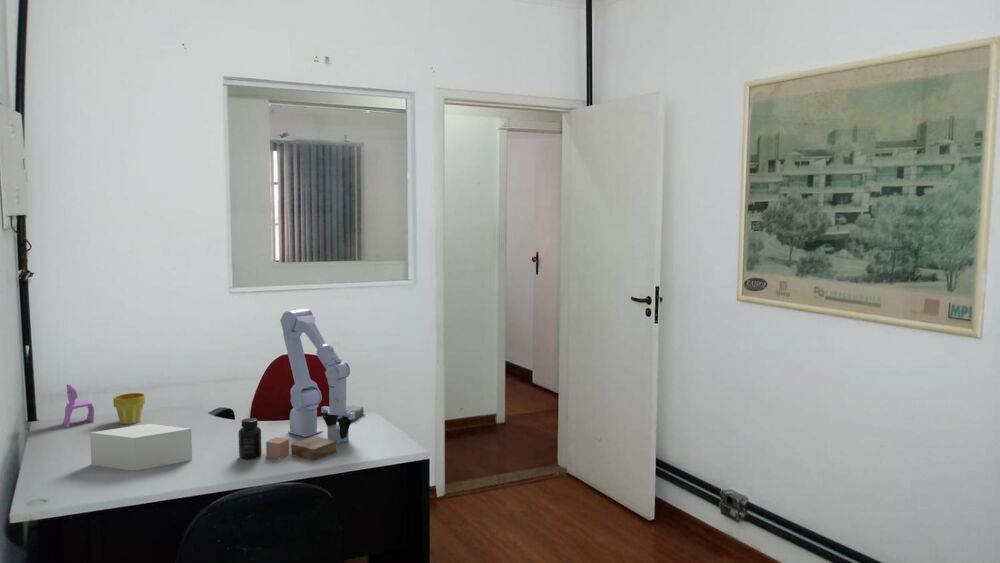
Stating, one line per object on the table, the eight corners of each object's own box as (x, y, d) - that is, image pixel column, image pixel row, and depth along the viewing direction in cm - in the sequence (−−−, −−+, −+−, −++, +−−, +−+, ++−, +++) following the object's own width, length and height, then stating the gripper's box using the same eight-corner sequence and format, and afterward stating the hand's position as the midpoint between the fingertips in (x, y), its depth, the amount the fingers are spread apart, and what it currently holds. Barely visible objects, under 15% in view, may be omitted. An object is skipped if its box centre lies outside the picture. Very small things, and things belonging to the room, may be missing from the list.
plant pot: (121, 418, 262) (120, 392, 261) (150, 417, 263) (149, 392, 262) (109, 426, 252) (108, 399, 251) (139, 425, 253) (138, 399, 252)
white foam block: (186, 468, 212) (185, 435, 211) (81, 473, 206) (80, 440, 205) (197, 452, 226) (196, 421, 225) (100, 457, 220) (99, 425, 219)
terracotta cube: (266, 457, 223) (266, 441, 222) (276, 452, 227) (276, 437, 227) (279, 458, 221) (279, 443, 221) (289, 454, 226) (289, 439, 225)
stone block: (329, 425, 263) (353, 422, 261) (327, 413, 263) (351, 409, 261) (342, 418, 275) (366, 414, 273) (340, 406, 275) (364, 402, 273)
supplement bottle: (266, 454, 225) (265, 418, 224) (252, 461, 218) (251, 423, 217) (248, 451, 227) (247, 415, 226) (234, 458, 220) (233, 421, 219)
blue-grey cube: (327, 440, 239) (327, 426, 239) (338, 437, 243) (338, 423, 243) (337, 443, 237) (337, 429, 236) (348, 439, 241) (348, 425, 240)
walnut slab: (291, 456, 225) (291, 444, 224) (314, 447, 233) (314, 436, 233) (313, 462, 219) (313, 449, 219) (336, 453, 228) (336, 441, 228)
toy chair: (96, 422, 256) (94, 382, 254) (69, 428, 249) (67, 387, 248) (87, 418, 261) (86, 379, 260) (61, 423, 254) (59, 383, 253)
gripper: (314, 396, 239) (314, 435, 241) (343, 403, 231) (344, 443, 233) (330, 392, 245) (330, 430, 246) (359, 399, 237) (359, 437, 238)
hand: (338, 436), depth 240 cm, fingers closed on blue-grey cube, 5 cm apart
